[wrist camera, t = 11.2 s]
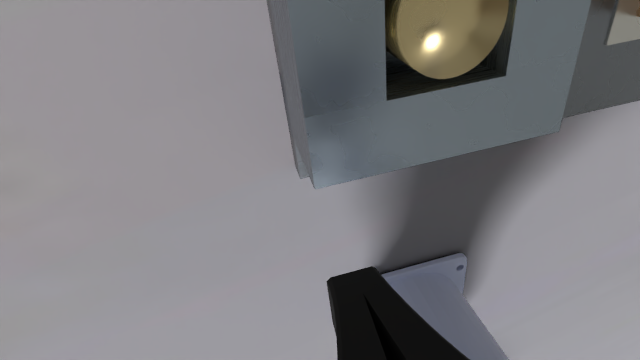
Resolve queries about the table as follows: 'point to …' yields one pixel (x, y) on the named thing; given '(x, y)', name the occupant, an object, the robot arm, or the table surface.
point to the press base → (442, 83)
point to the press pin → (443, 33)
